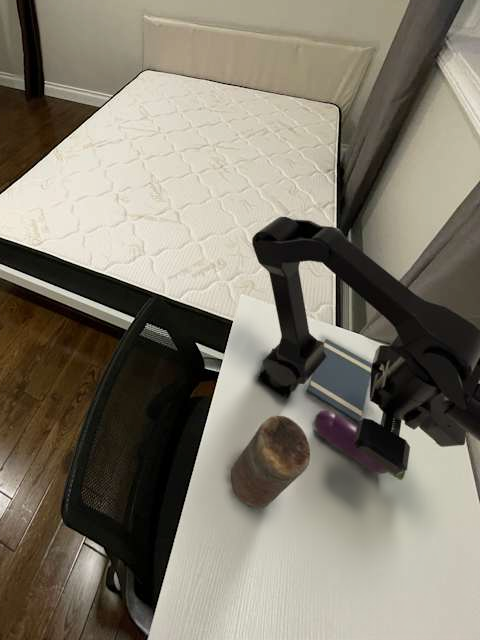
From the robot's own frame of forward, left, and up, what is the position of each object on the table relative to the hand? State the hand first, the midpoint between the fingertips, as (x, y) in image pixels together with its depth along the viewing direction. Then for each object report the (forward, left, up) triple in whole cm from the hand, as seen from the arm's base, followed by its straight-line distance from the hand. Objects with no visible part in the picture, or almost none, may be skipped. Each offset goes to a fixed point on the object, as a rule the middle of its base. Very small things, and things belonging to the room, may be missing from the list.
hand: (367, 422), depth 62 cm
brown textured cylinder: (-12, -16, -10) cm, 22 cm away
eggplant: (0, 0, -10) cm, 10 cm away
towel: (-4, +12, -10) cm, 16 cm away
